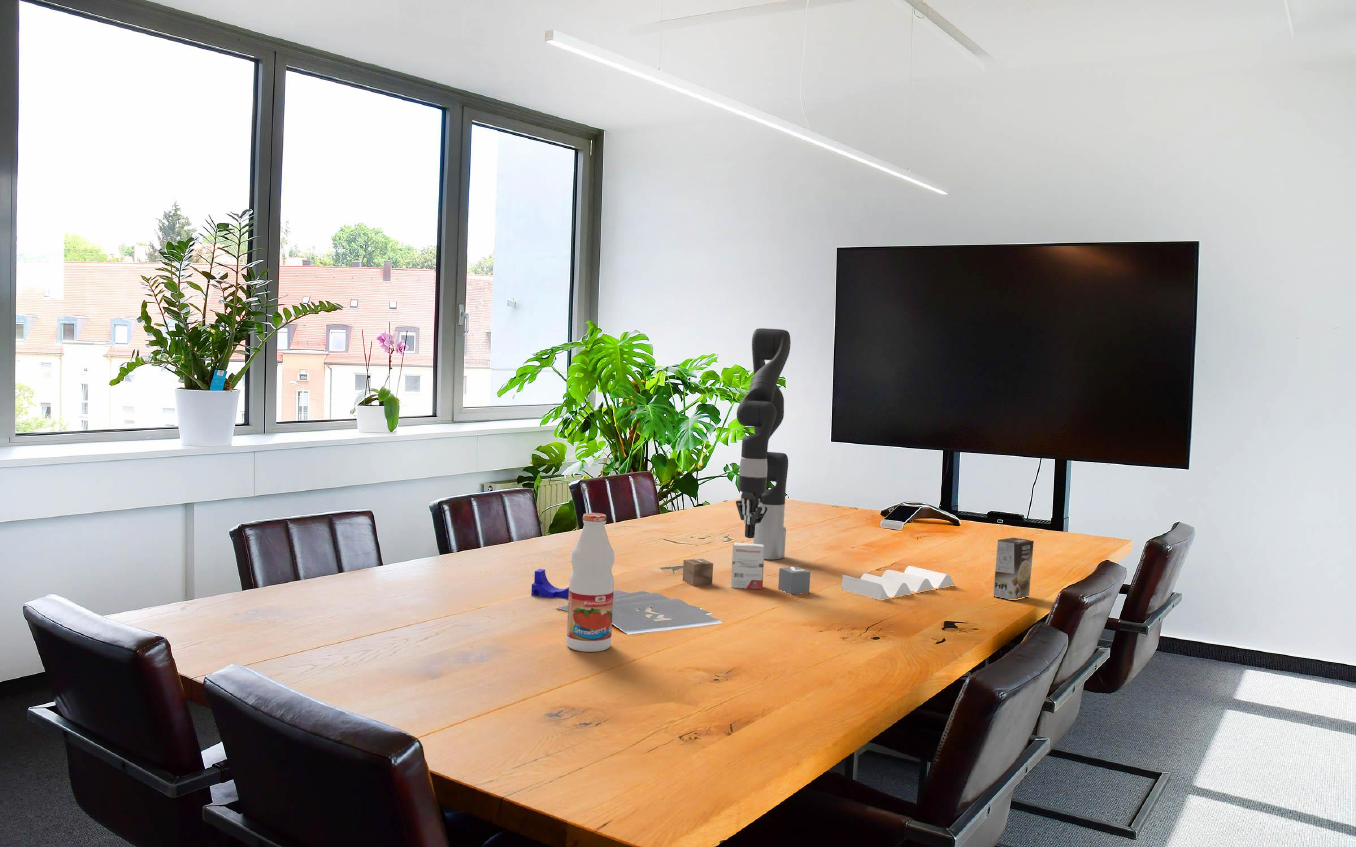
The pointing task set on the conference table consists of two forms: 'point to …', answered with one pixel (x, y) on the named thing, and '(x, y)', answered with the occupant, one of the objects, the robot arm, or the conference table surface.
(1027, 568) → the coffee box
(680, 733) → the conference table surface
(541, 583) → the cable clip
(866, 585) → the white taco holder
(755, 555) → the ink box
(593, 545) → the fruit juice
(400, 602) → the conference table surface
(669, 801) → the conference table surface
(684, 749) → the conference table surface
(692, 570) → the walnut block
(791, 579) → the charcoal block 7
